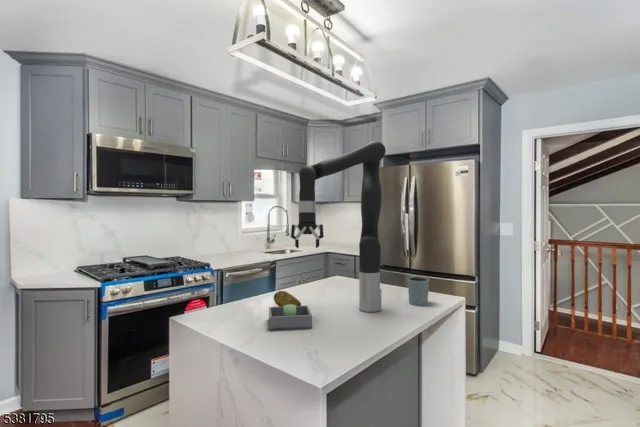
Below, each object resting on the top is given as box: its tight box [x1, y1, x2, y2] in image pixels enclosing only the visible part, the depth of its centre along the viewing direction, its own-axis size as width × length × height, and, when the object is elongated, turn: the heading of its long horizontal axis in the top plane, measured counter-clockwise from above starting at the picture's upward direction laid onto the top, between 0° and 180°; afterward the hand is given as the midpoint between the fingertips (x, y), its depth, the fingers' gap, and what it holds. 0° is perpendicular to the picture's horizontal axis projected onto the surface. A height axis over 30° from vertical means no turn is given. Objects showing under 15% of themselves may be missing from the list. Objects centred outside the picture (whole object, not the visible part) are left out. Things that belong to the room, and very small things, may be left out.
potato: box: [273, 290, 302, 307], centre depth 162 cm, size 8×13×8 cm, turn 44°
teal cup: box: [407, 276, 430, 307], centre depth 172 cm, size 10×10×12 cm
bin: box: [268, 305, 313, 332], centre depth 143 cm, size 16×14×5 cm
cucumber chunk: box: [284, 304, 296, 316], centre depth 143 cm, size 5×5×6 cm
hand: (307, 248), depth 160 cm, fingers open, 8 cm apart
